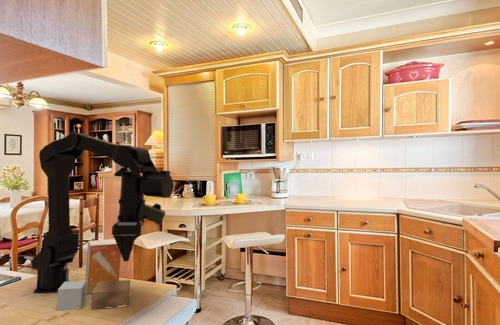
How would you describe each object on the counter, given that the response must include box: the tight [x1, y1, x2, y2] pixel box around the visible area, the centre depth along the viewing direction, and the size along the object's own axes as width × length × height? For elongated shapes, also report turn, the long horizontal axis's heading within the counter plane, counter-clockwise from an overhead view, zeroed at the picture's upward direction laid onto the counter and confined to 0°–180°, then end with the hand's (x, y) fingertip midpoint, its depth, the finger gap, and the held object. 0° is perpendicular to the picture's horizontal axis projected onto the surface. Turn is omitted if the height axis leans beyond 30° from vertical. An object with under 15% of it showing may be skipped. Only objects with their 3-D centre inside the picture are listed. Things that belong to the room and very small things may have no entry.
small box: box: [84, 238, 122, 295], centre depth 84 cm, size 8×6×13 cm
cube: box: [56, 280, 87, 311], centre depth 73 cm, size 5×5×5 cm
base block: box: [90, 279, 131, 310], centre depth 75 cm, size 8×7×4 cm
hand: (128, 255), depth 76 cm, fingers open, 9 cm apart
